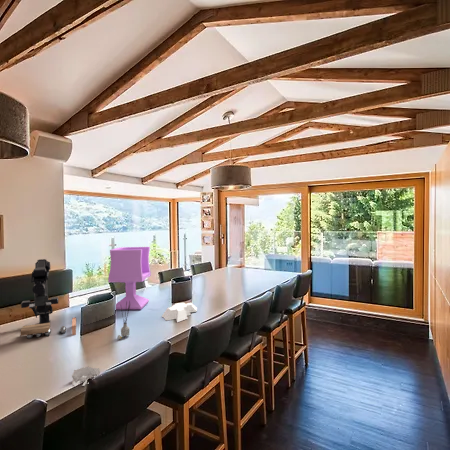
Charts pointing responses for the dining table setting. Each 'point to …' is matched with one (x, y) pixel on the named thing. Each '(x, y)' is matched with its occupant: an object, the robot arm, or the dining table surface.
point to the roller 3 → (63, 329)
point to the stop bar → (74, 326)
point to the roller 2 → (48, 332)
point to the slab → (35, 329)
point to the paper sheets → (179, 311)
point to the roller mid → (38, 334)
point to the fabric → (84, 374)
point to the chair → (130, 273)
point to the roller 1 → (30, 336)
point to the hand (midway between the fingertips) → (40, 316)
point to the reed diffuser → (124, 325)
